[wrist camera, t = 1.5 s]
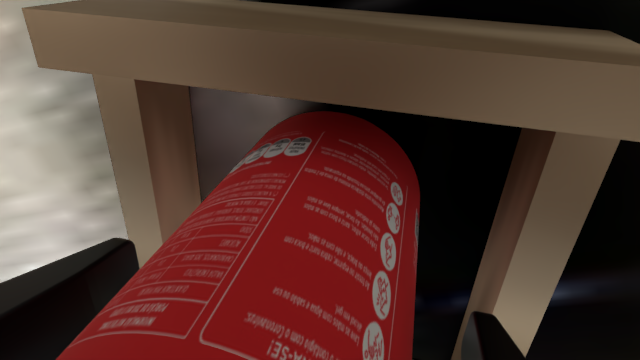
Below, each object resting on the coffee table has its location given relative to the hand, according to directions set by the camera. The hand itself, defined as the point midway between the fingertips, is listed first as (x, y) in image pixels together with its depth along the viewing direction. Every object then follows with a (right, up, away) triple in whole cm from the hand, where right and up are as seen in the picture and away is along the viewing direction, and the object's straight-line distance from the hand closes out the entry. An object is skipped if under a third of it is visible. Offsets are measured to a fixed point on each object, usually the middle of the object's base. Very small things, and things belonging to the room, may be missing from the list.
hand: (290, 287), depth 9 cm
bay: (+1, -2, +7) cm, 7 cm away
